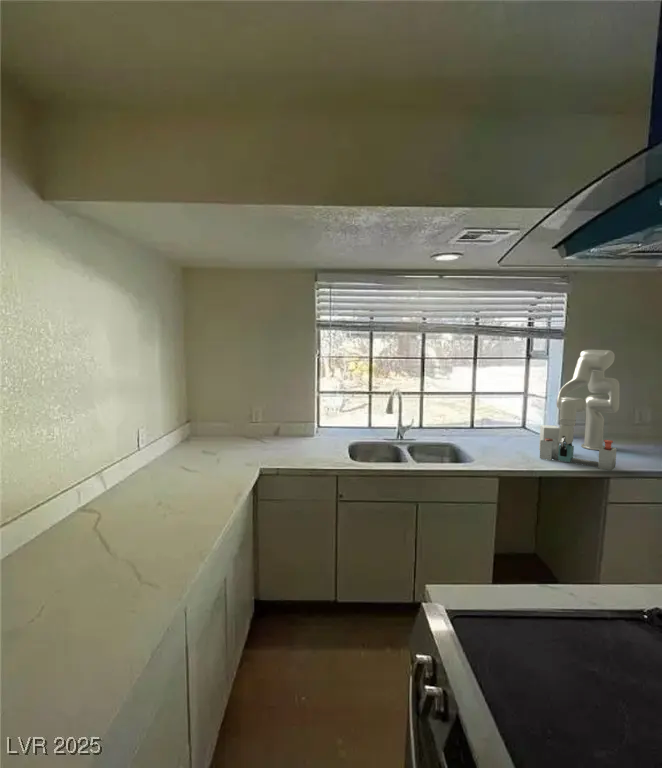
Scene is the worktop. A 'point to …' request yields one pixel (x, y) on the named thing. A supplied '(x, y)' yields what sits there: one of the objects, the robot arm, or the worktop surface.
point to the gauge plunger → (608, 444)
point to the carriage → (569, 454)
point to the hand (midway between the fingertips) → (565, 454)
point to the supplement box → (550, 434)
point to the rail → (580, 461)
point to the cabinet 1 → (548, 448)
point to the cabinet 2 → (607, 458)
